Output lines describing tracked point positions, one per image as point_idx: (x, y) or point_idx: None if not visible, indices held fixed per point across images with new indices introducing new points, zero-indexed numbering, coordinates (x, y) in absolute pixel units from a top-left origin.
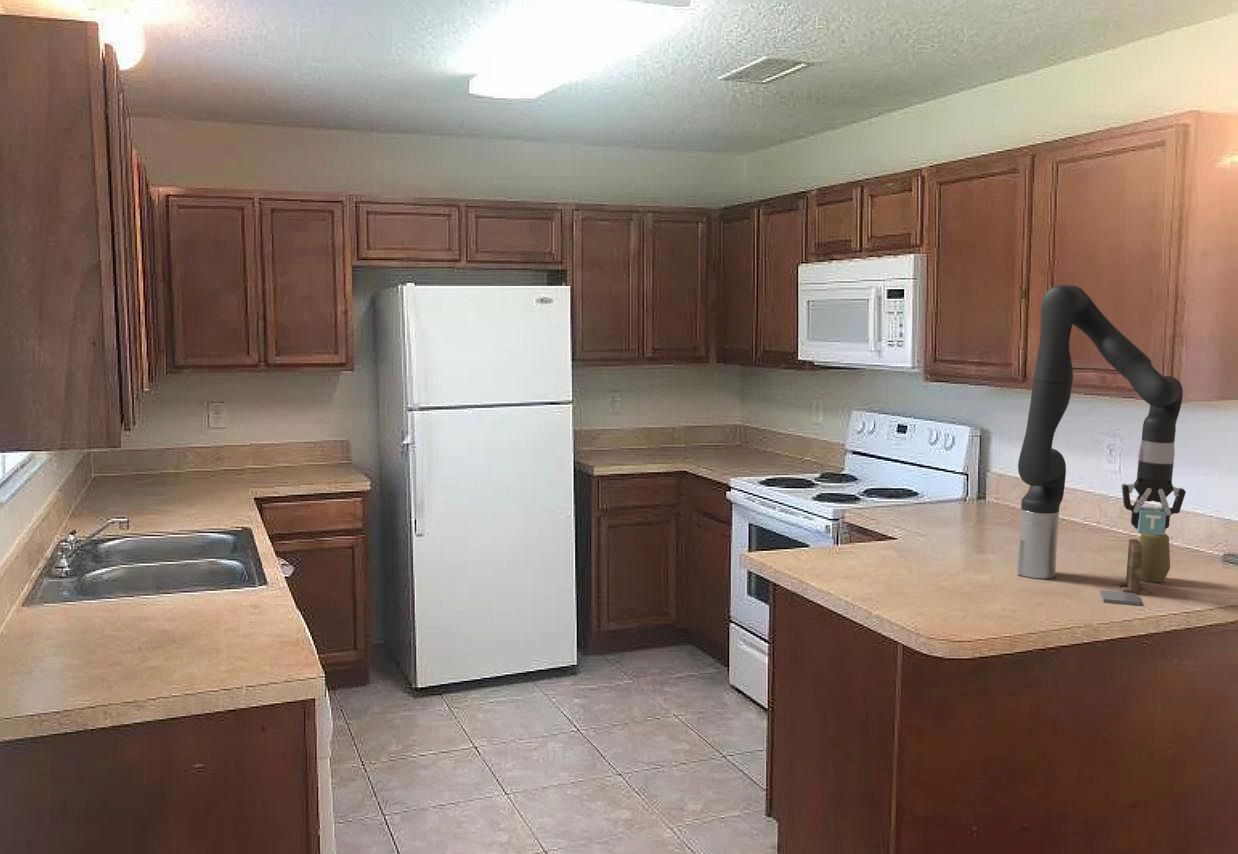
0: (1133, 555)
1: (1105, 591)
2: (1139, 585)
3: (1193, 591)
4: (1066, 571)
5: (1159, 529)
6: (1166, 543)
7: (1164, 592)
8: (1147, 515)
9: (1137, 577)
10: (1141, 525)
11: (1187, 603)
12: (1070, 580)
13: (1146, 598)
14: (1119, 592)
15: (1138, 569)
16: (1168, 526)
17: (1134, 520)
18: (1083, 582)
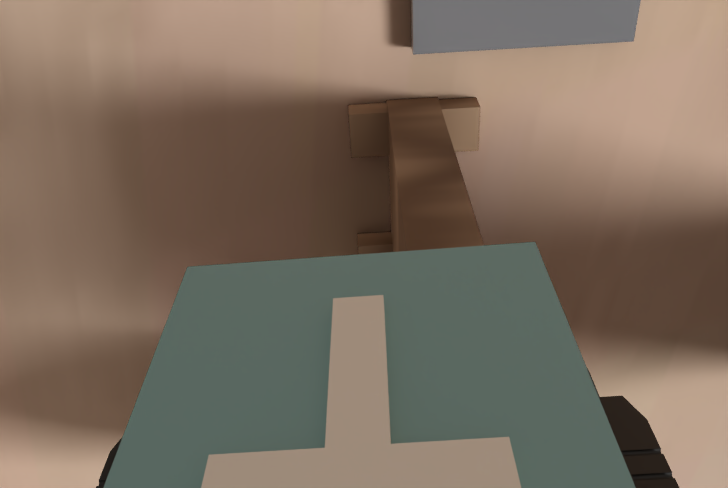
0: (473, 230)
1: (605, 17)
2: (391, 123)
3: (104, 284)
4: (681, 392)
5: (244, 314)
6: None
7: (244, 209)
8: (484, 484)
9: (411, 147)
10: (534, 320)
11: (107, 14)
12: (718, 249)
13: (349, 30)
14: (517, 29)
15: (413, 174)
16: (118, 447)
17: (625, 462)
18: (655, 237)
